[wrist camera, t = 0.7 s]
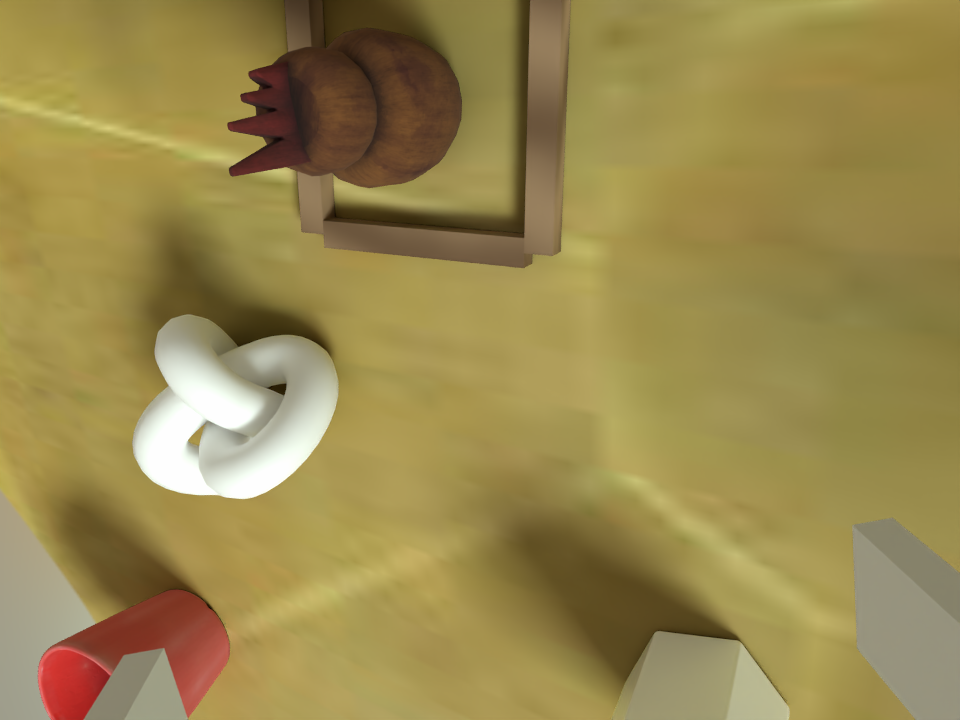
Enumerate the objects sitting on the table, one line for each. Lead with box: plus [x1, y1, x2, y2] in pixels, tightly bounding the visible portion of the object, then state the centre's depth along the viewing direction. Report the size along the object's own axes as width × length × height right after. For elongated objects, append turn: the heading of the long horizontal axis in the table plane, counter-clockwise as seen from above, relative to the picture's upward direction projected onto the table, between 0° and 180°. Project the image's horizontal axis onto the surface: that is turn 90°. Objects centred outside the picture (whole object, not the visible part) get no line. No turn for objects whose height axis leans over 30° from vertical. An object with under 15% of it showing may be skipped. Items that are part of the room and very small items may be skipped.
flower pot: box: [38, 589, 230, 720], centre depth 57 cm, size 11×11×10 cm
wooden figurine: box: [227, 28, 462, 188], centre depth 32 cm, size 7×6×15 cm
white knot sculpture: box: [132, 314, 338, 499], centre depth 45 cm, size 11×12×9 cm
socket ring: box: [284, 0, 571, 268], centre depth 38 cm, size 15×15×1 cm
